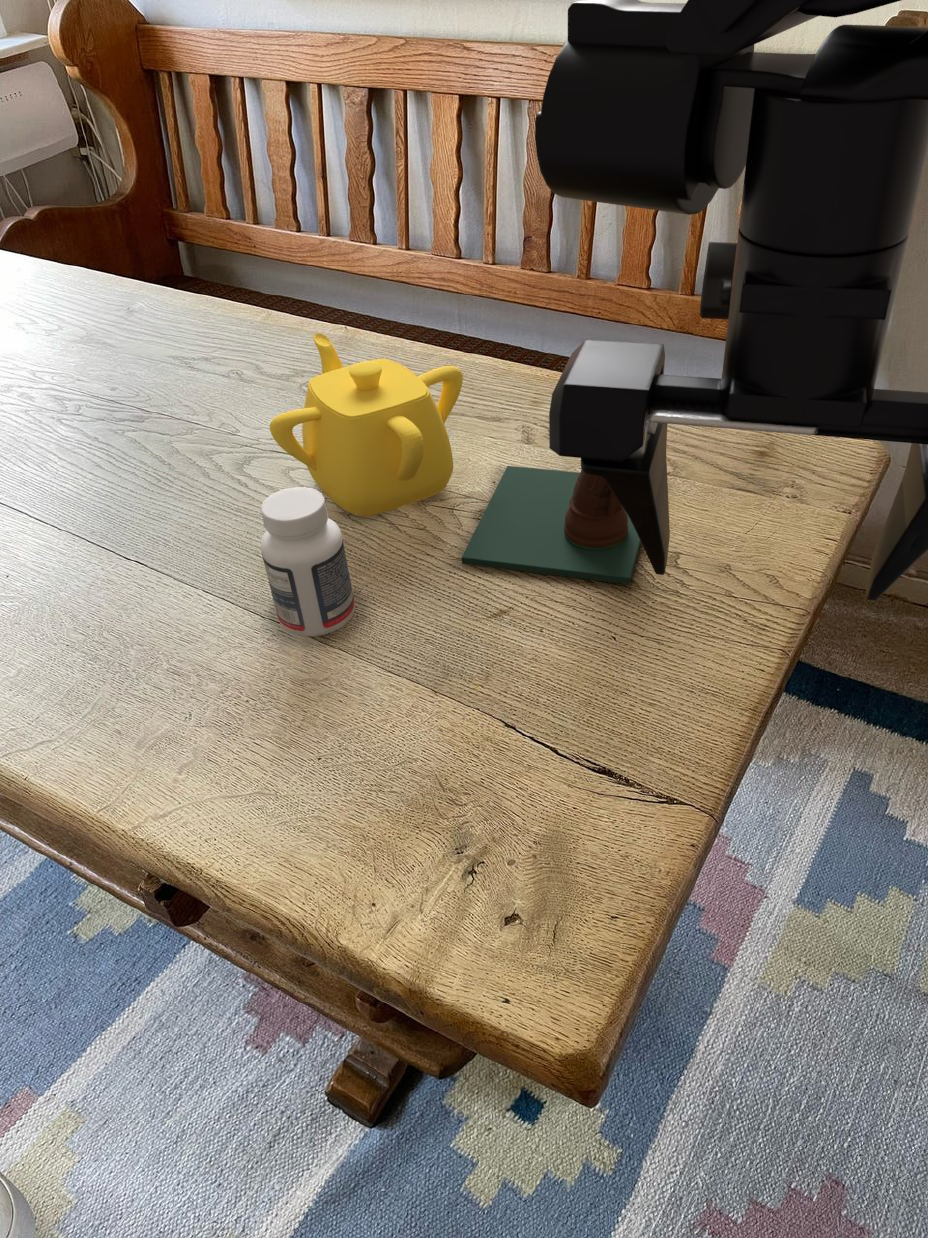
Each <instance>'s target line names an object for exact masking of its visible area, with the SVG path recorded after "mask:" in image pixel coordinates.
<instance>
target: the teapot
mask: <svg viewBox="0 0 928 1238" xmlns="http://www.w3.org/2000/svg"><path fill="white" fill-rule="evenodd" d="M312 339H313V342H314V344H315V346H316V349H317V351H318V355H319V358H320V364H321V374H318V375H315V376H313V377H312V378H311V379H310V380H309V382H308V383H307V384H308V385H307V390H306V394H305V400H304V407H303V408H298V409H294V410H289V411H285V412H283V413H280V414H278V415H276V416H274V417H273V418H272V419H271V421H270V423H269V432H270V434H271V436H272V439H273V440H274V442H275V443H276V444H277V445H278V446H279V447H280V448H281V449H282V450H283V451H284V452H286V453H287V454H288V455H290V456H292V457H293V458H294V459H296V460H297V461H299V462H300V463H302V464H304V465H305V466H306V467H307V470H308V472H309V474H310V476H311V478H312V479H313V481H314V482H315V484H316V485H317V486H318V487H319V488H320V490H321V491H322V493H324V495H325V496H326V497H327V498H328V499H329V500H331V501H332V502H333V503H334V504H336V505H337V506H338V507H340V508H341V509H342V510H344V511H346V512H347V513H350V514H352V515H354V516H359V517H370V516H375V515H379V514H383V513H386V512H390V511H393V510H396V509H400V508H403V507H406V506H409V505H413V504H414V503H418V502H419V501H422V500H425V499H428V498H430V497H433V496H435V495H437V494H439V493H441V492H442V491H444V490H445V489H446V488H447V486H448V484H449V481H450V480H451V477H452V476H453V475H452V474H453V471H454V457H453V452H452V451H453V450H452V447H451V446H452V445H451V442H450V437H449V434H448V431H447V428H446V425H445V423H446V421H447V420H448V418H449V416H450V415H451V412H452V411H453V408H454V407H455V405H456V403H457V401H458V399H459V397H460V393H461V391H462V386H463V382H464V376H463V372H462V371H461V369H460V368H459V367H457V366H455V365H444V366H440V367H437V368H434V369H431V370H429V371H426V372H424V373H422V374H420V375H417V374H416V373H415V372H413V371H412V370H411V369H409V368H407V367H405V366H404V365H403V364H401V363H399V362H396V361H394V360H392V359H388V358H376V359H371V360H366V361H365V360H364V361H359V362H357V363H354V364H349V365H346V366H344V365H343V363H342V361H341V359H340V357H339V354H338V352H337V350H336V348H335V346H334V344H333V342H332V340H331V339H330V338H329V337H327V336H326V335H325V334H324V333H320V332H317V333H314V335H313V337H312ZM439 383H442V388H441V391H440V395H439V398H438V402H437V404H436V402H435V400H434V398H433V395H432V394H431V391H430V390H429V387H431V386H433V385H436V384H439ZM300 424H301V433H302V435H301V437H302V438H301V439H302V445H301V443H300V442H299V440H298V439H297V438H296V436H295V435H294V432H293V429H294V428H295V427H296V426H298V425H300Z"/></svg>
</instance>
